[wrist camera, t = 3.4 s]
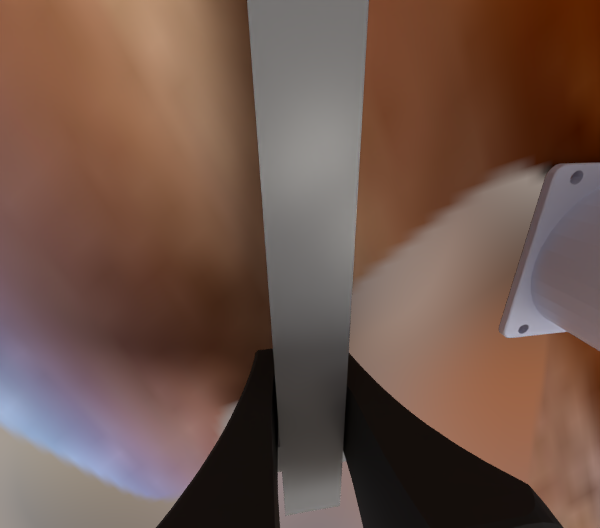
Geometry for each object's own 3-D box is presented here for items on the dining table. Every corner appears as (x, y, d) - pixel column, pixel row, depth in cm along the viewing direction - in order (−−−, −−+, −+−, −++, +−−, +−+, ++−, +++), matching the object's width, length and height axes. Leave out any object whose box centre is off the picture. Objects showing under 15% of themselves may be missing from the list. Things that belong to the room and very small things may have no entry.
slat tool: (378, -212, 7) (564, -757, 3) (345, 399, 15) (378, 499, 11) (160, -239, 6) (-32, -991, 2) (247, 412, 14) (242, 523, 10)
